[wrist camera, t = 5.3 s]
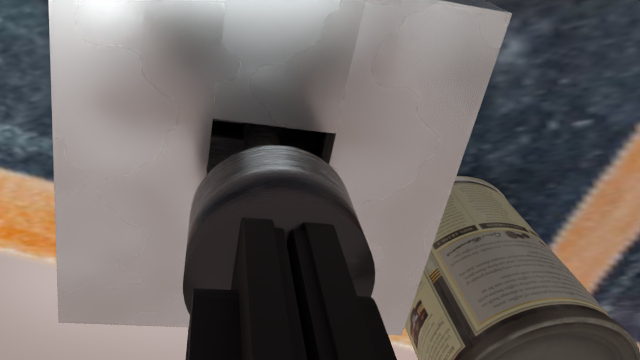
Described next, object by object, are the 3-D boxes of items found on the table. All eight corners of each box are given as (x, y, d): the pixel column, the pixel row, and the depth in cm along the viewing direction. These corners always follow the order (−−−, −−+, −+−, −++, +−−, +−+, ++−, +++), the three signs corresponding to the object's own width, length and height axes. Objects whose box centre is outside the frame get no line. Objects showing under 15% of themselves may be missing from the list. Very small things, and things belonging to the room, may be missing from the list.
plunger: (337, -17, 24) (505, 143, 10) (308, 127, 27) (404, 411, 13) (175, -47, 22) (89, 90, 8) (165, 109, 25) (88, 410, 11)
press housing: (444, -132, 28) (742, -144, 12) (364, 178, 36) (476, 421, 20) (63, -225, 24) (-267, -430, 8) (69, 148, 32) (-87, 421, 16)
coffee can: (521, 265, 42) (644, 426, 30) (393, 310, 42) (462, 488, 30) (503, 152, 37) (642, 290, 24) (357, 204, 37) (423, 366, 25)
